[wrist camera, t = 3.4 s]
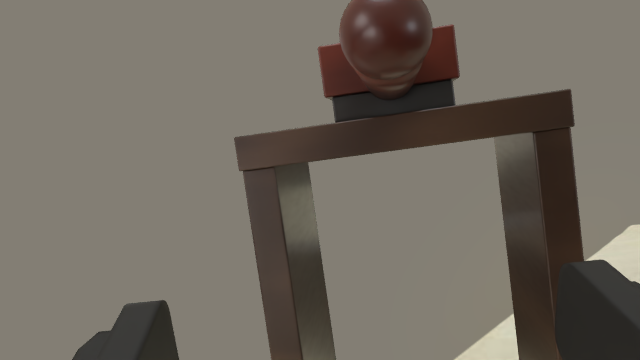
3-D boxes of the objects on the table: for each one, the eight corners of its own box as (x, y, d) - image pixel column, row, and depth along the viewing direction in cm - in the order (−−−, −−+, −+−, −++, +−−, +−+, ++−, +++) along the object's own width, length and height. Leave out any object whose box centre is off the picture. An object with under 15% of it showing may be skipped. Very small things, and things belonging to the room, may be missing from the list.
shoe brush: (263, 123, 12) (240, -33, 12) (344, 124, 32) (336, 65, 32) (537, 83, 11) (518, -87, 11) (445, 110, 31) (438, 49, 31)
